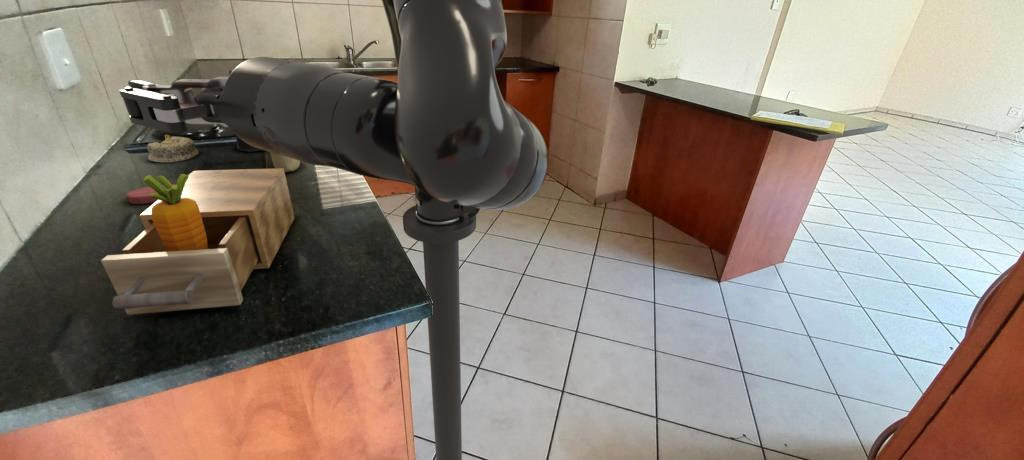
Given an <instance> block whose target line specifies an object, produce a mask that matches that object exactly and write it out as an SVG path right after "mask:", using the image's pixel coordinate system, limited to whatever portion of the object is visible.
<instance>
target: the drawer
mask: <svg viewBox="0 0 1024 460" xmlns="http://www.w3.org/2000/svg"><path fill="white" fill-rule="evenodd" d="M201 218H202V221H203V225H204V229H205V232H206V236H207V243H208V249H203V250H186V251H170V252H168V251H167V250H166V248H165V246H164V244H163V242H162V240H161V238H160V236H159V234H158V232H157V229H156V227H155V225H154V223H152V224H151V225H150V226H149V227H148V228H146V229H145V228H144V230H143V231H142V232H141V233H140V234H138V235H137V236H136V237H135V238H133V239H132V241H131V242H129V243H128V244H127V245H126V246H125V247H124V248H123V249H121V252H122V254H107V255H106V256H105V257H103V258H102V259H101V260H100V262H101V264H102V267H103V268H104V270H105V272H106V274H107V277H108V278H109V280H110V283H111V285H112V286H113V289H114V290H115V293H116V294H117V295H115V296H114V297H113V298H112V307H113V308H114V309H116V310H124V311H125V313H126V315H127V316H128V315H143V314H152V313H153V314H154V313H164V312H165V313H166V312H175V311H186V310H188V311H189V310H197V309H199V310H200V309H209V308H210V309H211V308H221V307H235V306H241V305H242V303H243V301H244V297H243V294H242V290H243V288H244V287H245V285H246V283H247V281H248V280H249V277H250V276H251V274H252V272H253V271H254V270H255V269H254V267H255V265H256V264H257V262H258V260H259V258H260V255H259V251H258V248H257V244H256V241H255V237H254V233H253V230H252V226H251V222H250V219H249V215H243V216H222V217H201Z"/></svg>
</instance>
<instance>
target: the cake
mask: <svg viewBox="0 0 1024 460" xmlns="http://www.w3.org/2000/svg"><path fill="white" fill-rule="evenodd" d="M164 138H165V139H164V140H163V141H162V142H160V141H156V142H155V141H154V142H149V143H147V145H146V149H147V152H148V153H149V155H148V157H147V159H148V161H151V162H155V163H175V162H176V163H177V162H181V161H187V160H189V159H192V158H193V159H194V158H195V157H196V156H198V155H199V153H200V152H199V150H198V148H197V147H196V142H195V140H193V139H191V138H189V137H184V136H175V135H174V136H172V135H169V134H165V135H164Z"/></svg>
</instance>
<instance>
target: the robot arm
mask: <svg viewBox="0 0 1024 460" xmlns="http://www.w3.org/2000/svg"><path fill="white" fill-rule="evenodd" d="M381 4H382V6H383V10H384V13H385V18H386V20H387V23H388V27H389V31H390V35H391V40H392V47H393V52H394V57H395V64H396V70H397V79H396V80H397V82H395V81H393V80H388V79H384V78H381V77H380V78H379V77H374V76H369V75H364V74H363V75H362V74H356V73H351V72H350V73H349V72H346V71H345V72H344V71H342V70H339V69H337V68H335V67H330V66H327V65H322V64H315V63H309V62H302V61H297V60H289V59H284V58H277V57H271V56H270V57H269V56H257V57H252V58H249V59H247V60H245V61H243V62H241V63H240V64H238V65H237V66H236V67H235V68H234V69H233V70H229V71H228V76H217V77H213V78H211V79H209V78H208V79H205V78H204V79H203V78H182V79H179V80H175V81H173V82H172V83H171V84H157V83H153V82H149V81H145V80H141V79H136V80H128V82H127V85H128V86H125V87H124V88H122V89H119V90H118V92H119V94H120V97H121V98H122V100H123V102H124V106H125V108H126V110H127V114H128V115H129V116H128V118H129V120H130V123H131V124H135V125H139V126H143V127H147V128H151V129H154V130H158V131H162V132H165V133H169V134H176V135H178V134H183V133H185V132H188V129H189V128H188V126H187V124H188V125H220V126H222V127H224V128H229V129H230V130H231V131H232V132H233V133H234V135H235V134H236V135H237V136H238V137H239V138H241V139H242V140H243V141H244V142H246V143H247V144H249V145H251V146H253V147H256V148H258V149H262V151H266V152H269V153H270V152H272V153H275V154H279V155H282V156H285V157H289V158H292V159H295V160H299V161H301V162H303V163H306V164H309V165H314V166H321V167H329V168H335V169H337V170H341V171H345V172H349V173H352V174H355V175H359V176H362V177H366V178H372V179H378V180H384V181H392V182H399V183H404V184H407V185H412V186H414V195H412V201H413V202H414V203H415V205H416V218H417V220H418V221H419V222H421V223H423V224H425V225H429V226H448V225H452V224H455V223H457V222H462V221H464V213H470V214H468V217H469V218H472V217H473V216H475V215H476V216H477V215H478V214H479V212H480V210H485V211H492V212H493V211H496V212H497V211H506V210H510V209H514V208H517V207H519V206H521V205H523V204H525V203H526V202H527V201H529V200H530V199H531V198H533V197H534V196H535V194H537V192H539V190H540V189H541V187H542V185H543V184H544V182H545V180H546V177H547V174H548V170H549V151H548V147H547V143H546V141H545V138H544V136H543V135H542V133H541V131H540V130H539V128H538V127H537V126H536V124H534V122H533V121H531V119H529V118H528V117H527V116H525V115H524V114H523V113H521V112H520V111H519V110H517V109H516V108H515V107H513V106H512V105H511V104H510V103H508V102H507V101H506V100H504V97H503V95H502V92H501V90H500V87H499V84H498V80H497V76H496V75H497V74H496V70H495V68H497V66H498V65H499V64H500V63H501V62H502V60H503V58H504V56H505V53H506V49H507V45H508V32H507V31H508V29H507V22H506V17H505V12H504V8H503V3H502V0H381ZM193 89H201V90H200V91H199V92H198V94H197V96H196V97H194V94H193Z"/></svg>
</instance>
